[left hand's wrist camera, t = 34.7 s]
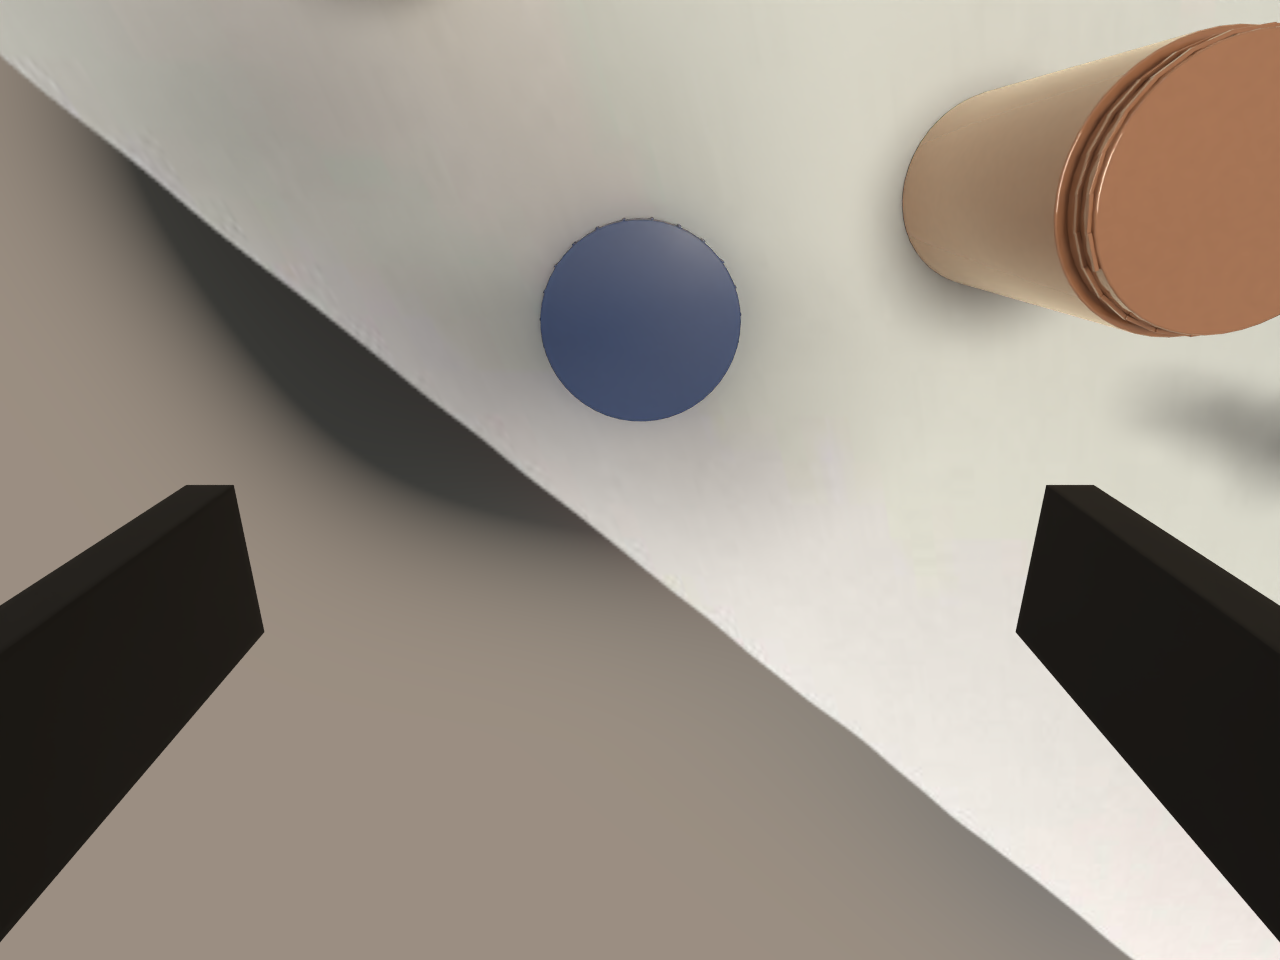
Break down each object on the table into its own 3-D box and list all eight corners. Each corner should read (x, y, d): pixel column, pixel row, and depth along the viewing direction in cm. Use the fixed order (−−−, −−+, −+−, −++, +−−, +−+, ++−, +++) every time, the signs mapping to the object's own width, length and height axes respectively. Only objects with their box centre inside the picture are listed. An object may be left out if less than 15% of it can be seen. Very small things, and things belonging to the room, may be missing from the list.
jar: (1066, 53, 33) (1396, -54, 19) (1105, 240, 36) (1418, 273, 21) (878, 139, 34) (1052, 102, 20) (930, 314, 37) (1115, 392, 23)
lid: (508, 270, 36) (502, 274, 35) (690, 180, 35) (693, 180, 33) (595, 441, 39) (593, 452, 38) (766, 365, 38) (772, 373, 36)
